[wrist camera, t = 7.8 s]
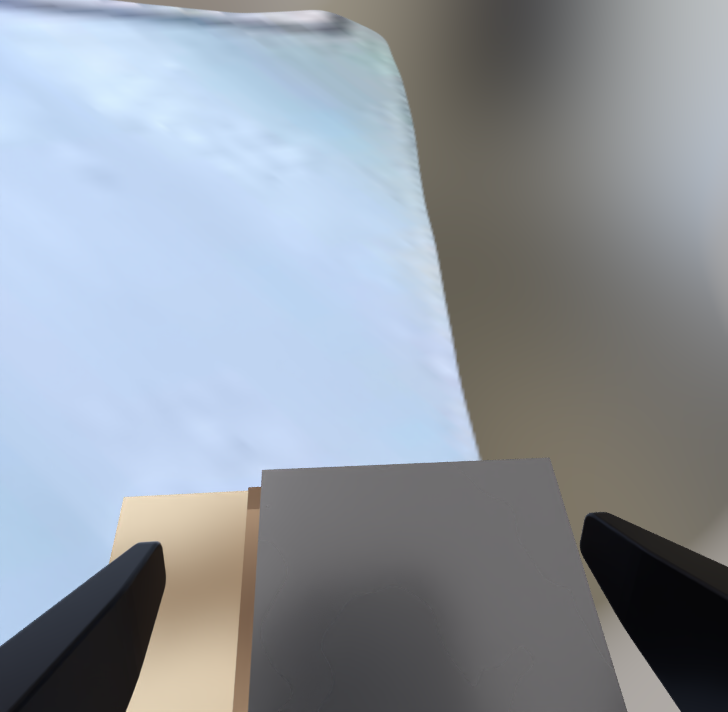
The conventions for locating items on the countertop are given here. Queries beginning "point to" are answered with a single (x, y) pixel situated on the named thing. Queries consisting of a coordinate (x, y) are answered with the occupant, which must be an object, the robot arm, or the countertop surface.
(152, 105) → the countertop surface
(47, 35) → the countertop surface
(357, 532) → the post
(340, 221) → the countertop surface
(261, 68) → the countertop surface
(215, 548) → the stand
